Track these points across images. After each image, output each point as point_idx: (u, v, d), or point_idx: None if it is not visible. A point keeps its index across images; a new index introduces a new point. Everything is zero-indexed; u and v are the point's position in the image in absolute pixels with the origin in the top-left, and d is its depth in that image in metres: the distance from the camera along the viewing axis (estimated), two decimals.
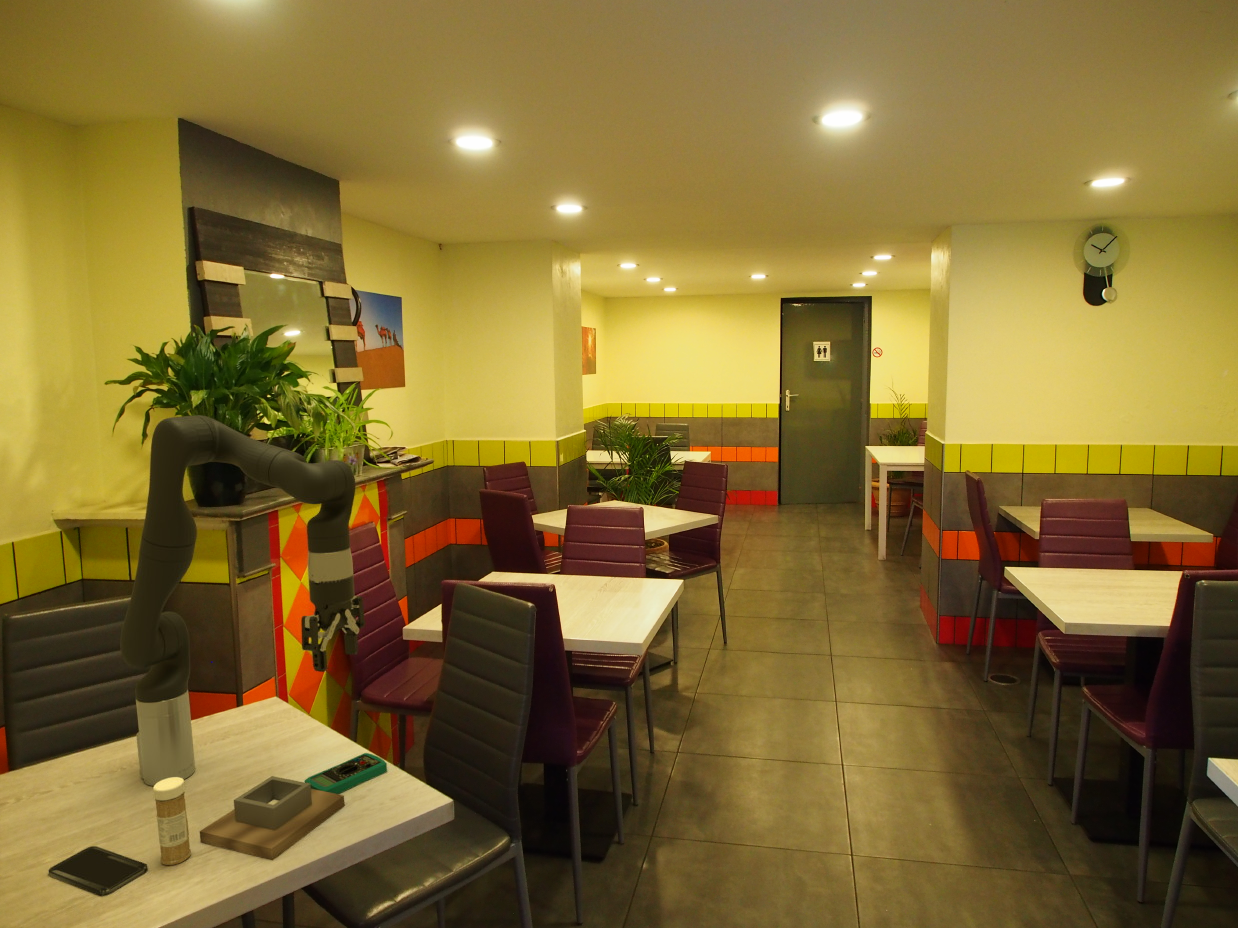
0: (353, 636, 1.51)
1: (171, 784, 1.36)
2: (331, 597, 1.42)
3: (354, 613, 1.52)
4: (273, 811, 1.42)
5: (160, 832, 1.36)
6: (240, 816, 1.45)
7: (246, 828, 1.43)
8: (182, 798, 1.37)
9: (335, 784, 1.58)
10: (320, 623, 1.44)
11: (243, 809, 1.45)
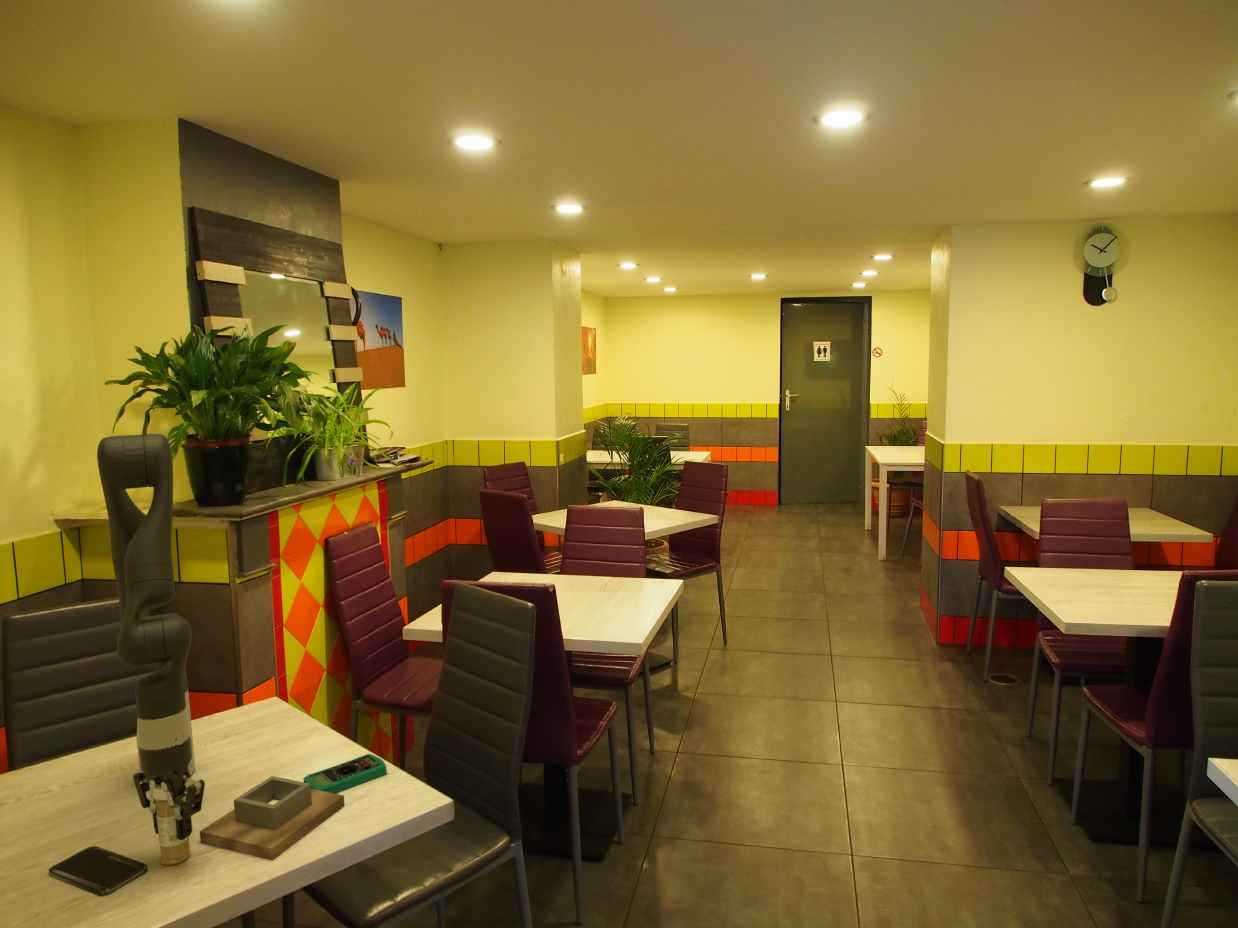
0: None
1: None
2: (191, 752, 1.37)
3: (149, 788, 1.39)
4: (273, 811, 1.42)
5: (160, 832, 1.36)
6: (240, 816, 1.45)
7: (246, 828, 1.43)
8: None
9: (330, 784, 1.58)
10: None
11: (243, 809, 1.45)
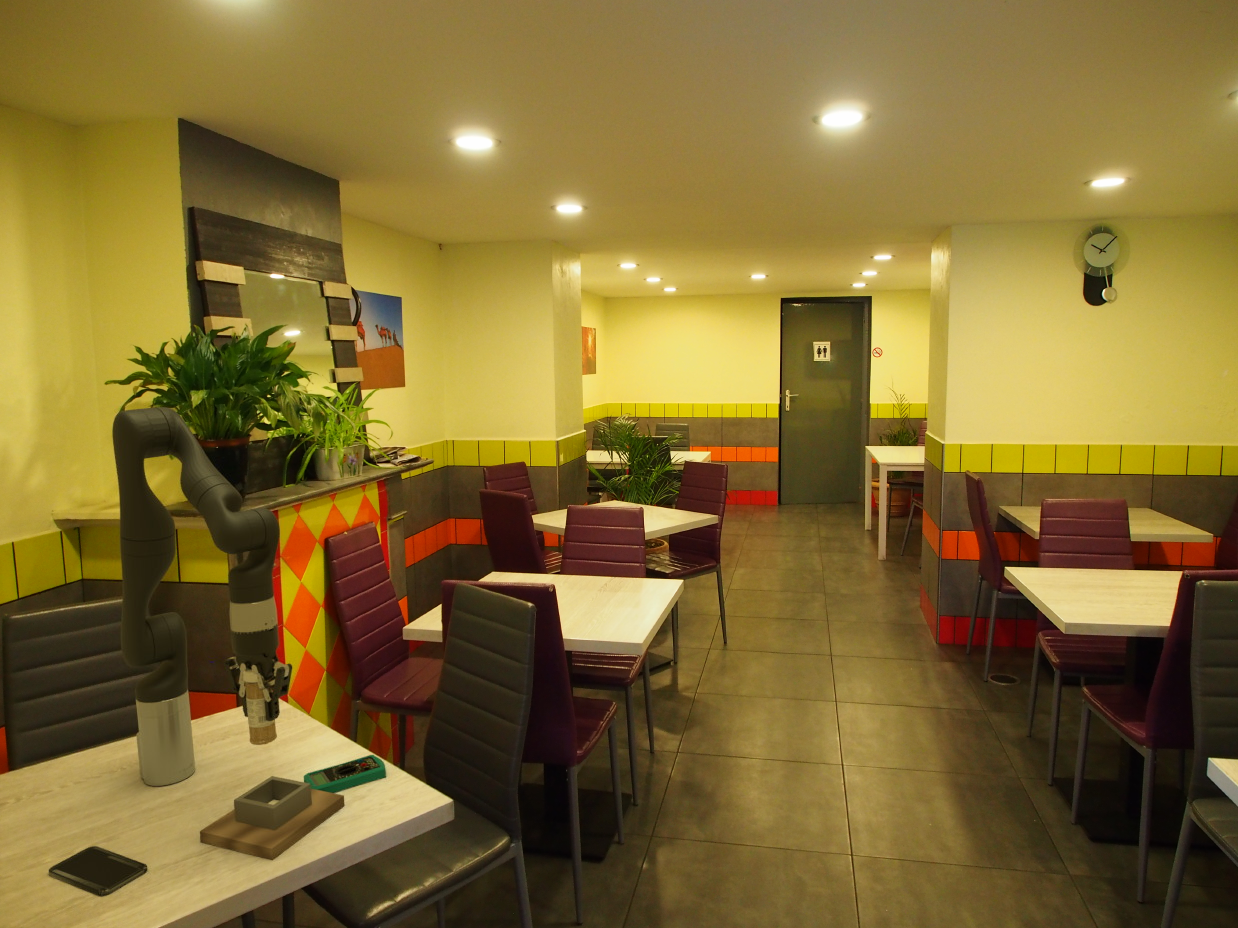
0: None
1: None
2: (278, 639, 1.45)
3: (238, 673, 1.46)
4: (273, 811, 1.42)
5: (250, 713, 1.43)
6: (240, 816, 1.45)
7: (246, 828, 1.43)
8: None
9: (326, 784, 1.58)
10: None
11: (243, 809, 1.45)
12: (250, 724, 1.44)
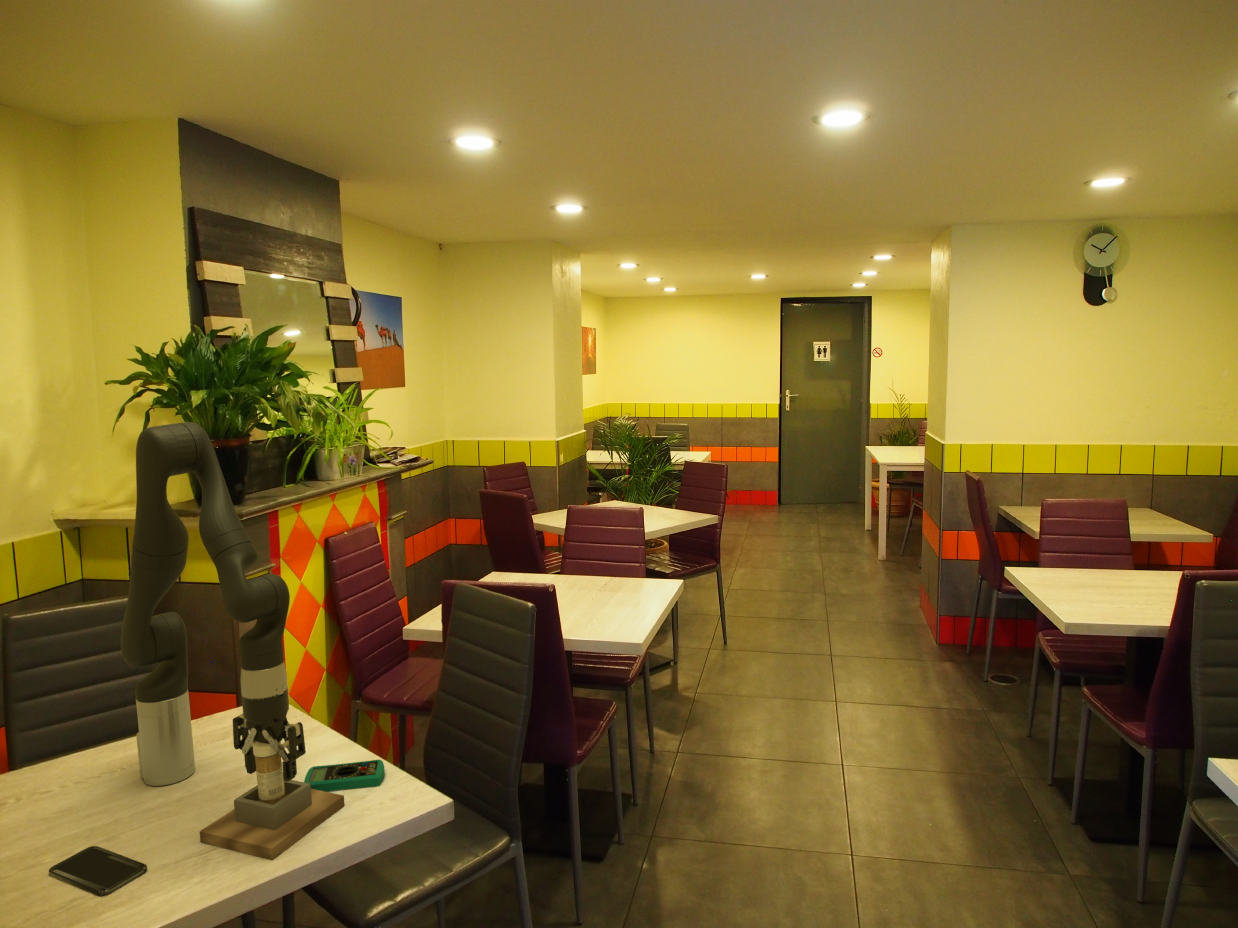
0: None
1: None
2: (288, 703, 1.47)
3: (243, 732, 1.49)
4: (273, 811, 1.42)
5: (260, 786, 1.46)
6: (240, 816, 1.45)
7: (246, 828, 1.43)
8: (279, 755, 1.47)
9: (317, 782, 1.59)
10: None
11: (243, 809, 1.45)
12: (260, 797, 1.46)
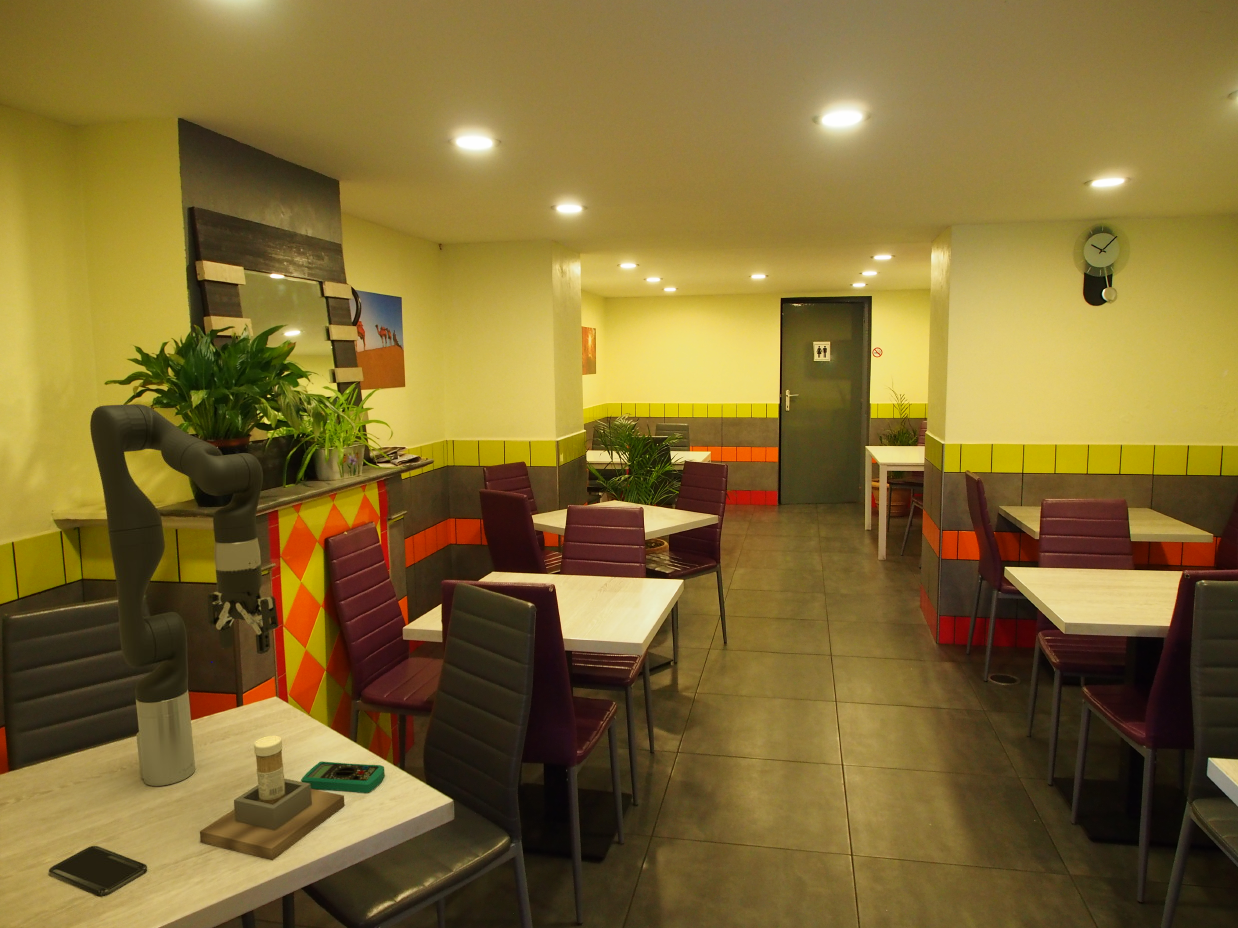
0: (231, 627, 1.53)
1: (270, 741, 1.46)
2: (261, 579, 1.51)
3: (218, 608, 1.53)
4: (273, 811, 1.42)
5: (260, 786, 1.46)
6: (240, 816, 1.45)
7: (246, 828, 1.43)
8: (280, 755, 1.47)
9: (313, 778, 1.60)
10: None
11: (243, 809, 1.45)
12: (261, 796, 1.46)
